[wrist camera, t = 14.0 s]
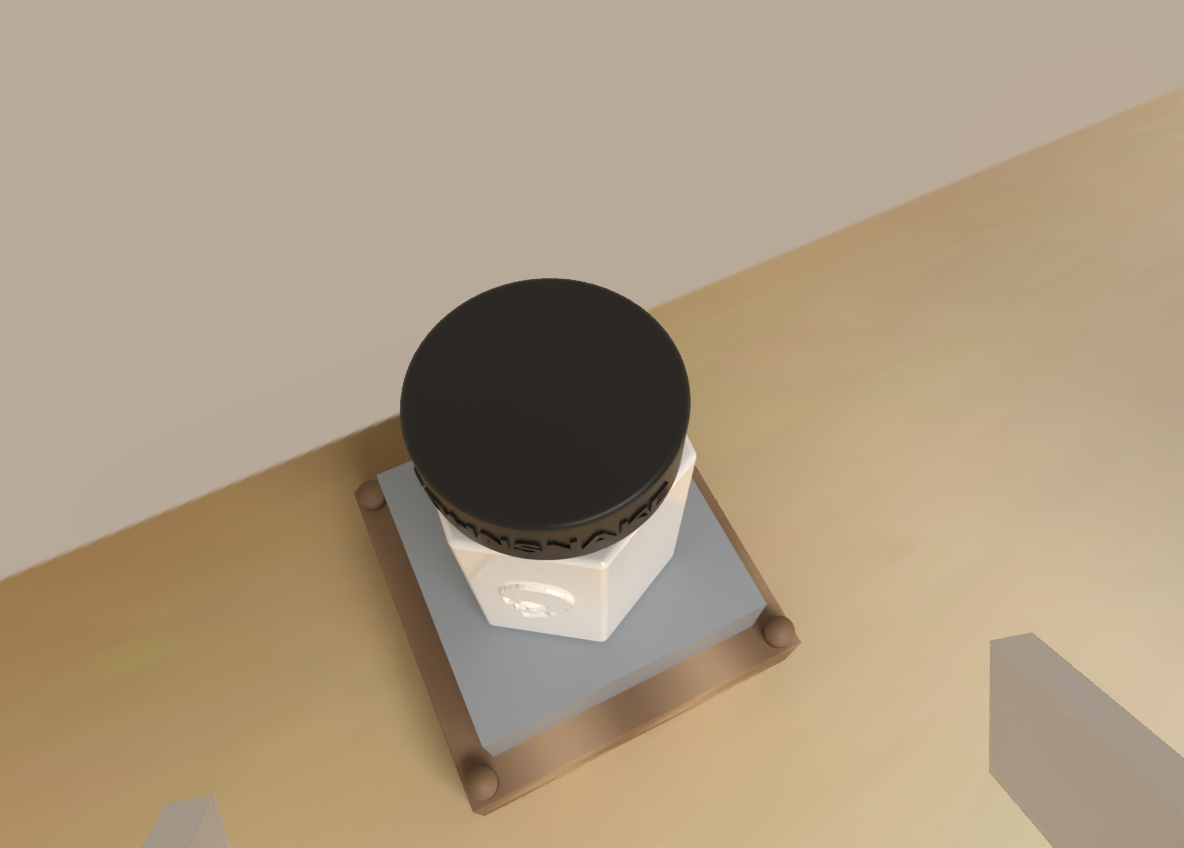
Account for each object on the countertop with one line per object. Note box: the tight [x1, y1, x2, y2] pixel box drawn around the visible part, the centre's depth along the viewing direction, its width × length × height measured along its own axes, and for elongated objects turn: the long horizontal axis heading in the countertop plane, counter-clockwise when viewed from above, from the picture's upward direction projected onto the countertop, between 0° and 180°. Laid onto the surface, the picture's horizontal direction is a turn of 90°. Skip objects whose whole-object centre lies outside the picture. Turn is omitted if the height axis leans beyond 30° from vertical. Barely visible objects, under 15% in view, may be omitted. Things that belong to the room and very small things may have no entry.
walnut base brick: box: [354, 465, 801, 816], centre depth 37 cm, size 15×15×4 cm
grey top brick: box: [376, 460, 767, 757], centre depth 35 cm, size 12×12×4 cm
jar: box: [400, 278, 696, 642], centre depth 28 cm, size 9×8×12 cm
